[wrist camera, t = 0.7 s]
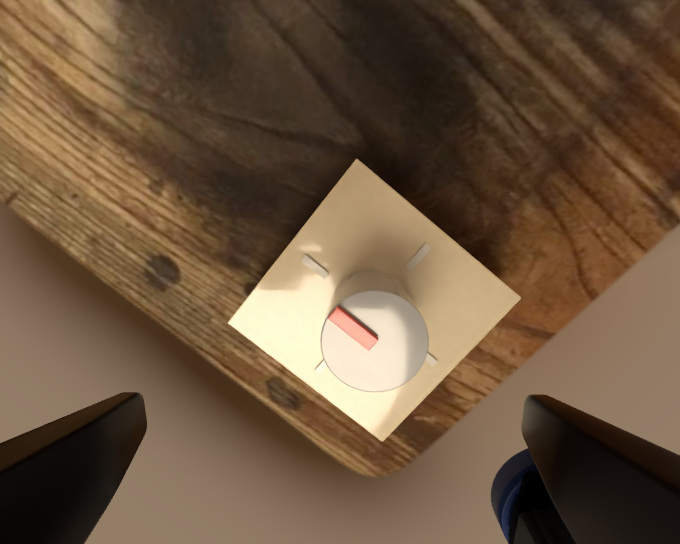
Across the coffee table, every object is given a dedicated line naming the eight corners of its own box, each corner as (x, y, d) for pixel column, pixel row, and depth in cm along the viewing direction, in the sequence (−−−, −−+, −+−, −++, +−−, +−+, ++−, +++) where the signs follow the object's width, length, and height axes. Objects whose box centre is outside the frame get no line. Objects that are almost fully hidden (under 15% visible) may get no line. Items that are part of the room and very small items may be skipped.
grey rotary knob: (430, 306, 17) (454, 340, 13) (375, 366, 18) (381, 417, 13) (365, 252, 17) (367, 269, 12) (312, 316, 17) (297, 352, 13)
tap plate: (497, 284, 20) (523, 298, 17) (379, 409, 21) (382, 444, 18) (356, 165, 19) (356, 157, 16) (245, 305, 21) (225, 324, 17)
